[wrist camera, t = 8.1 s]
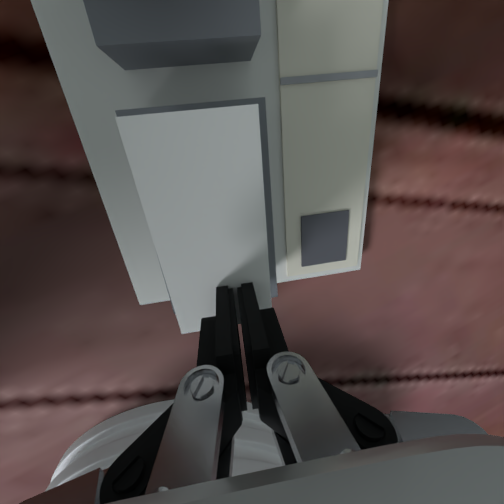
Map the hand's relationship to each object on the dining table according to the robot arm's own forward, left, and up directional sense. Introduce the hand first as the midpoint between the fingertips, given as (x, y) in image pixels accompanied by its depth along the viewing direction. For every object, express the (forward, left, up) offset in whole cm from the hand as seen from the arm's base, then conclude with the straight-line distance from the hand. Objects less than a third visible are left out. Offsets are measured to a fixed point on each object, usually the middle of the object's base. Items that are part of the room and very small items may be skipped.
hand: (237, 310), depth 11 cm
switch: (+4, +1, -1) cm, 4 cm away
